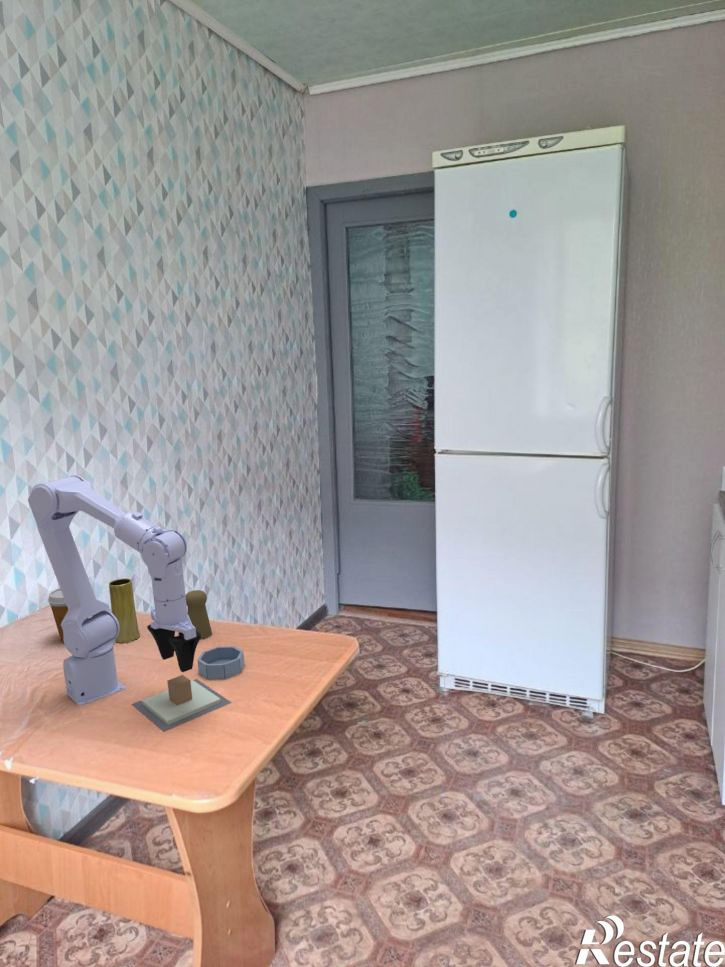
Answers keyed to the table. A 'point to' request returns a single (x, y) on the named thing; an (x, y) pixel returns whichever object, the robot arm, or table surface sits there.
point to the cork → (198, 612)
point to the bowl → (221, 662)
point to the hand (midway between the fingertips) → (177, 663)
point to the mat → (165, 727)
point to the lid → (180, 700)
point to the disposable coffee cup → (58, 609)
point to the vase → (124, 609)
